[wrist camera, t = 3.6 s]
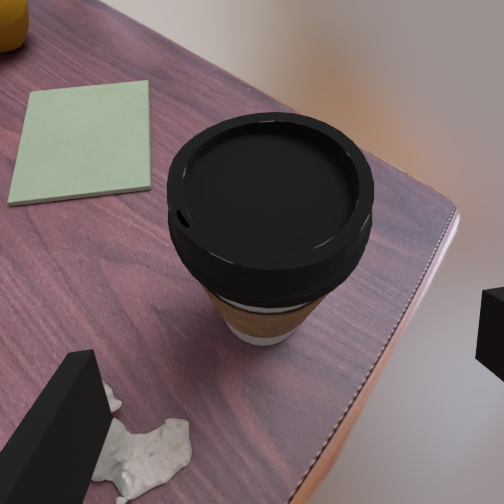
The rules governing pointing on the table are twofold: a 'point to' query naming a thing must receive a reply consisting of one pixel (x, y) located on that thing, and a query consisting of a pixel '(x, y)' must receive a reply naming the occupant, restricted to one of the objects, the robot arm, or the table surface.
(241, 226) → the coffee cup
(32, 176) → the mat
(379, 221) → the table surface
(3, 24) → the apple
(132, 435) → the rock
